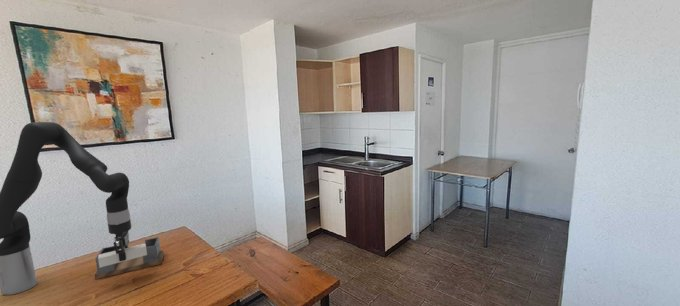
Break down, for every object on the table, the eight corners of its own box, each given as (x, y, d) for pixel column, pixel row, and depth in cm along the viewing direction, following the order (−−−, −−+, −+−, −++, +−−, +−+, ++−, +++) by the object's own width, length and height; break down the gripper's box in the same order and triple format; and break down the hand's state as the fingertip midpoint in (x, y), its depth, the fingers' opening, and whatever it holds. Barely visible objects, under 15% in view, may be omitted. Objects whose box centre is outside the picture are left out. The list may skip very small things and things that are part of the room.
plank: (95, 279, 121) (94, 275, 121) (102, 267, 131) (101, 263, 131) (161, 263, 133) (161, 259, 132) (163, 253, 142) (163, 249, 142)
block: (99, 267, 112) (98, 258, 111) (100, 263, 115) (98, 254, 114) (147, 254, 122) (146, 246, 121) (146, 251, 125) (145, 243, 124)
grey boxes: (98, 274, 122) (95, 258, 121) (104, 262, 131) (102, 248, 130) (158, 260, 132) (156, 245, 131) (160, 250, 141) (158, 237, 140)
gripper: (112, 216, 120) (117, 252, 123) (102, 228, 108) (108, 268, 110) (133, 213, 124) (137, 248, 126) (126, 224, 111) (131, 263, 114)
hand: (124, 257), depth 118 cm, fingers closed on block, 4 cm apart
